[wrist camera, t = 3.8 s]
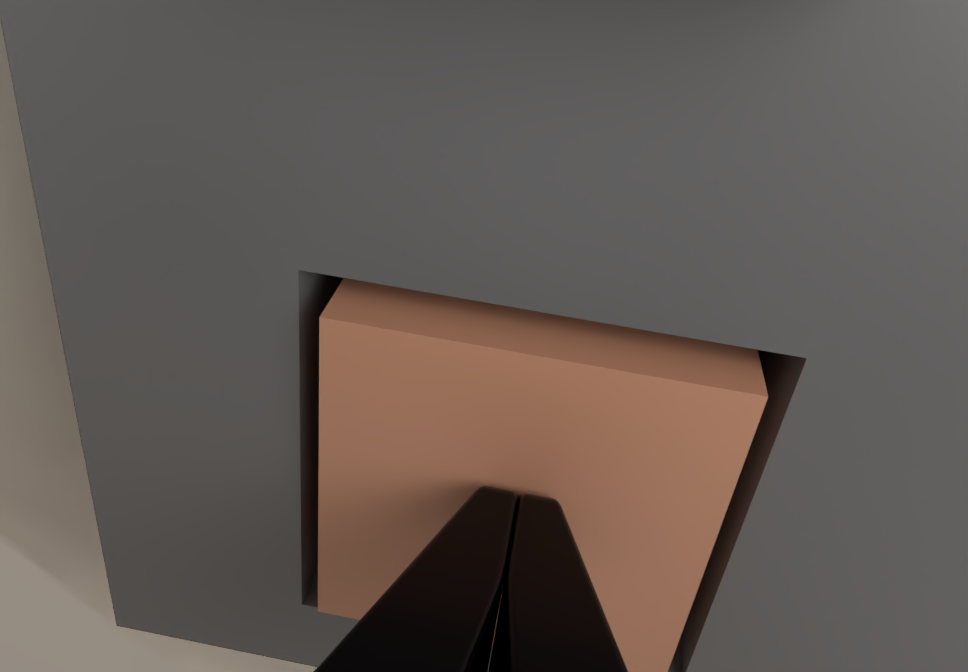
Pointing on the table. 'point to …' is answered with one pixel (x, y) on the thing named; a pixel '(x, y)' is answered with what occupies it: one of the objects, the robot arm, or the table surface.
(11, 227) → the table surface
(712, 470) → the terracotta key
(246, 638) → the keypad
